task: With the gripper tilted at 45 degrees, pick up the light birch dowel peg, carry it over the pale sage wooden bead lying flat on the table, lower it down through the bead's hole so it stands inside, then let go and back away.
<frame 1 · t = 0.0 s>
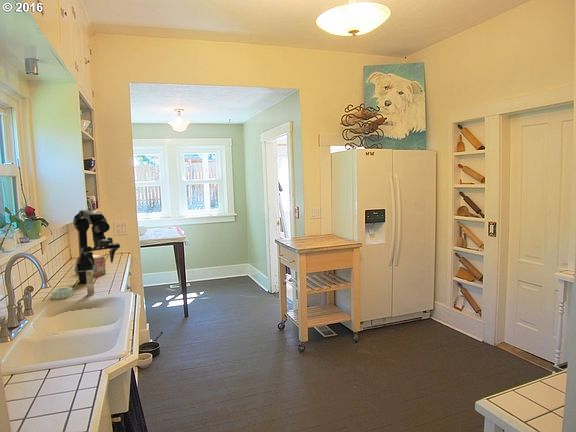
hand: (103, 264, 204), 15 cm above the counter, tool pointing down, fingers open, 9 cm apart
stack of blocks: (92, 274, 254), on the counter
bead: (62, 296, 200), on the counter
peg: (90, 294, 202), on the counter
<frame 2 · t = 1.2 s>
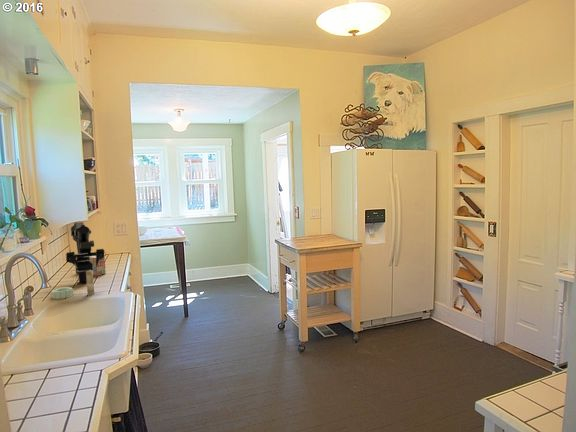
hand: (87, 267, 207), 13 cm above the counter, tool tilted 45°, fingers open, 9 cm apart
nothing on the counter moved.
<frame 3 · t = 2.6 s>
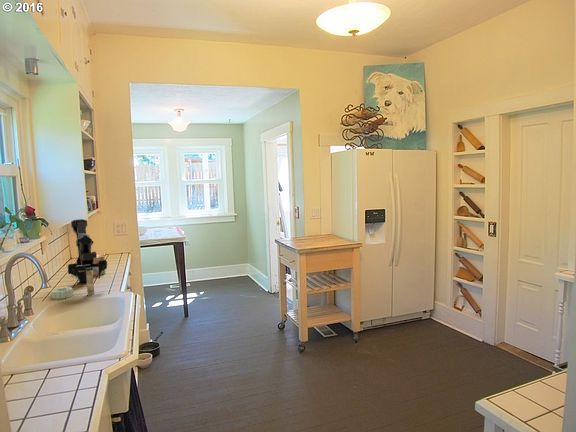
hand: (89, 279, 202), 8 cm above the counter, tool tilted 45°, fingers open, 9 cm apart
nothing on the counter moved.
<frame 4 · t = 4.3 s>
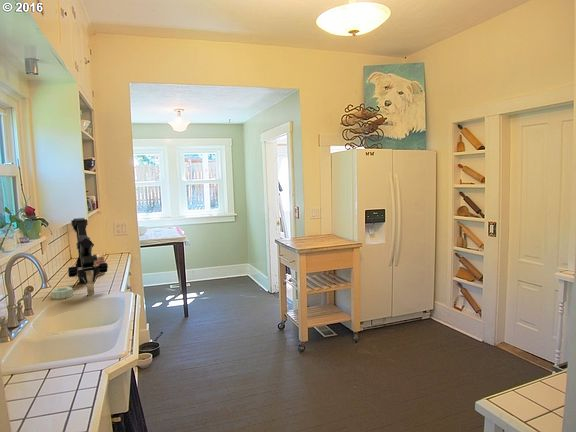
hand: (90, 282, 201), 7 cm above the counter, tool tilted 45°, fingers closed on peg, 3 cm apart
peg: (90, 294, 202), on the counter, touching gripper
everything else where it was.
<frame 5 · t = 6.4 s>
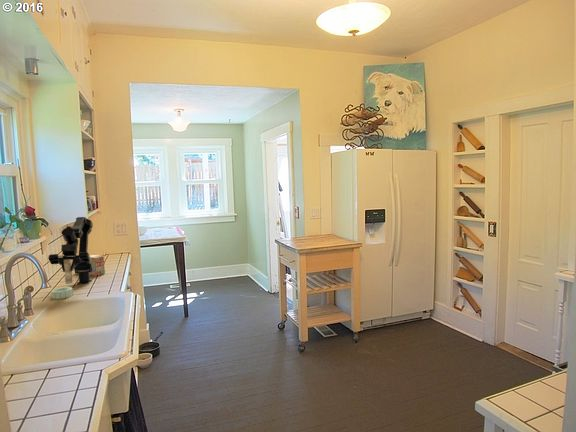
hand: (67, 271, 198), 13 cm above the counter, tool tilted 45°, fingers closed on peg, 3 cm apart
peg: (69, 283, 200), point 7 cm above the counter, touching gripper
everything else where it was.
when the fingers open (8 cm above the counter, at t = 8.9 s): peg stays where it is, resting in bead.
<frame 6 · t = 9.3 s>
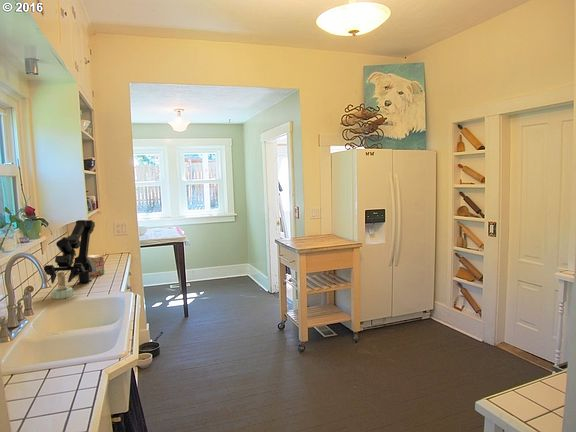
hand: (60, 282, 198), 8 cm above the counter, tool tilted 45°, fingers open, 8 cm apart
peg: (62, 296, 200), resting in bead
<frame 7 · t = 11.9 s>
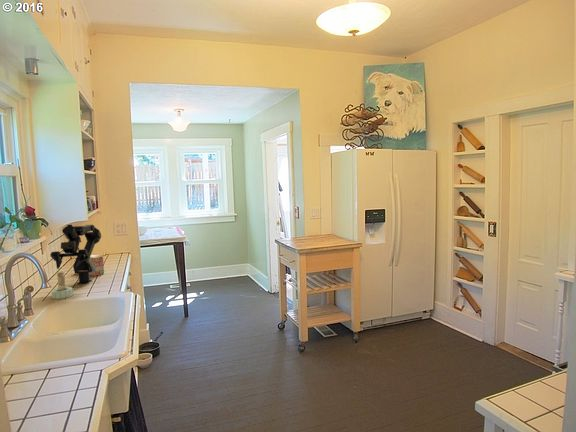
hand: (66, 267, 207), 13 cm above the counter, tool tilted 45°, fingers open, 9 cm apart
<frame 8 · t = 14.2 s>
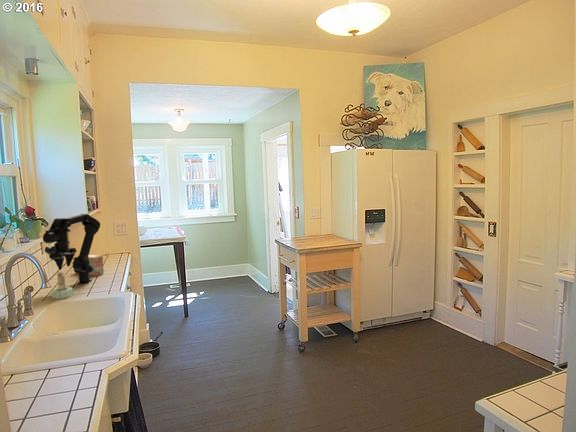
hand: (64, 267, 215), 12 cm above the counter, tool pointing down, fingers open, 9 cm apart
at the end: peg 0.0 cm from the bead (horizontally); peg resting in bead; peg tilted 0° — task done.
